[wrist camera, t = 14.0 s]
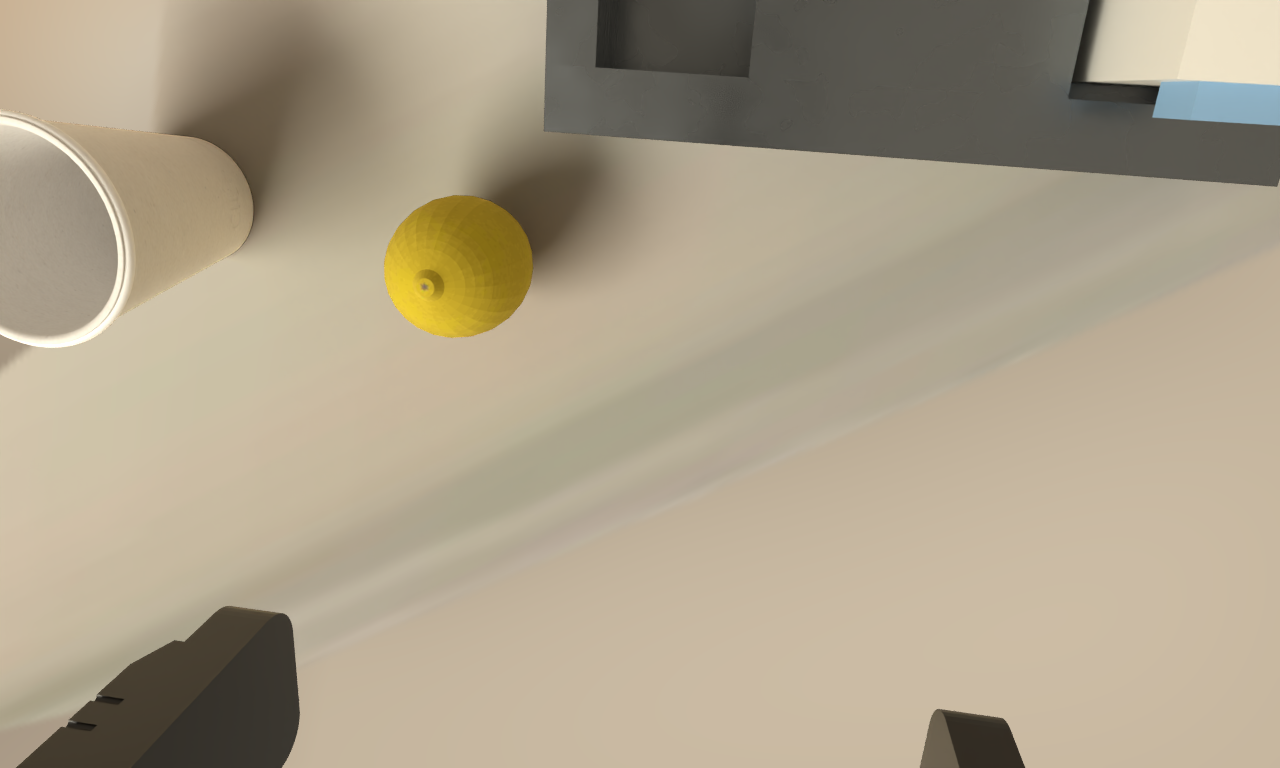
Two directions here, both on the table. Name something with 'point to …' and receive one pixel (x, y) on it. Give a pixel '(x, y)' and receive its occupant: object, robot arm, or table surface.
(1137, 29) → the plug
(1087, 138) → the panel
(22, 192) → the dixie cup
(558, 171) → the table surface
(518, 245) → the lemon
